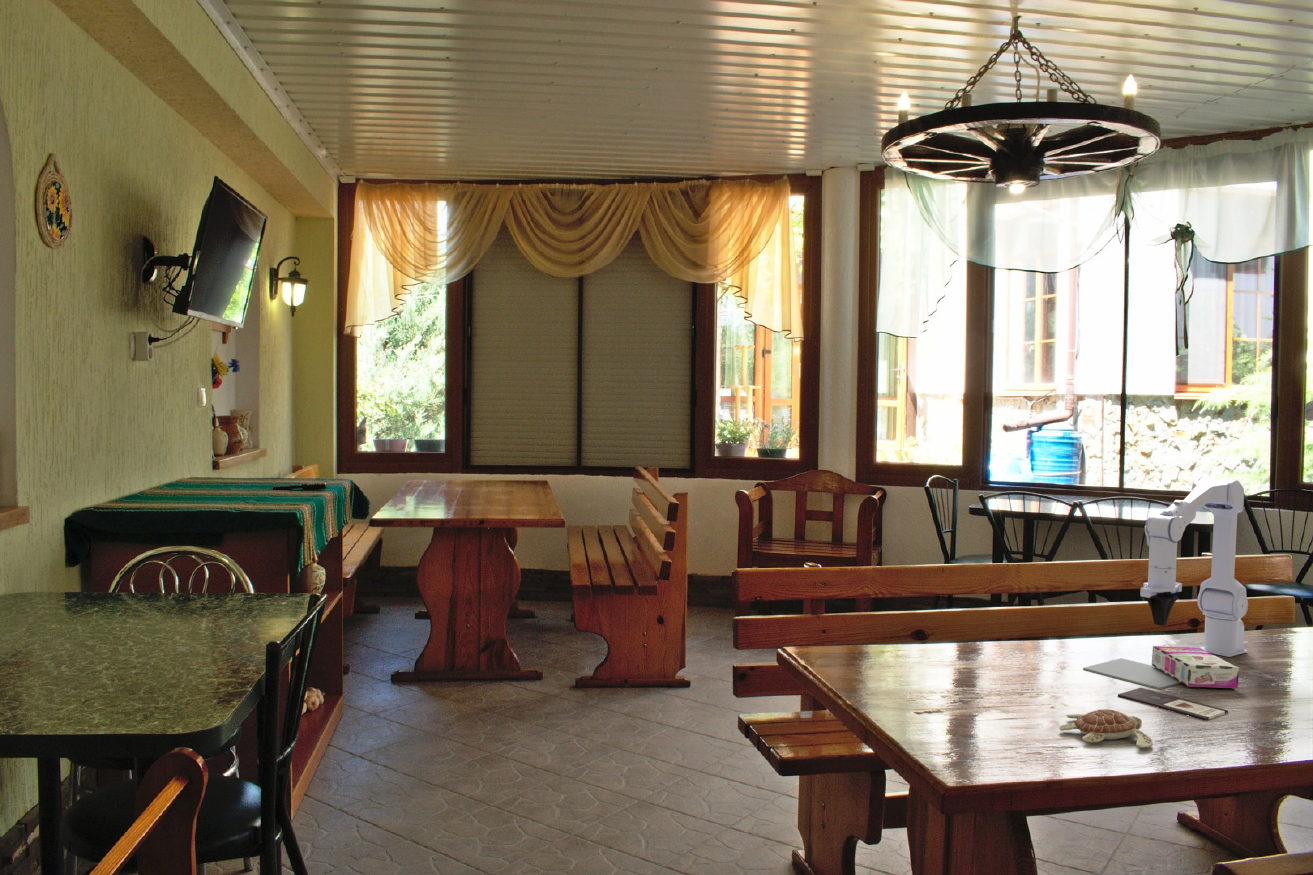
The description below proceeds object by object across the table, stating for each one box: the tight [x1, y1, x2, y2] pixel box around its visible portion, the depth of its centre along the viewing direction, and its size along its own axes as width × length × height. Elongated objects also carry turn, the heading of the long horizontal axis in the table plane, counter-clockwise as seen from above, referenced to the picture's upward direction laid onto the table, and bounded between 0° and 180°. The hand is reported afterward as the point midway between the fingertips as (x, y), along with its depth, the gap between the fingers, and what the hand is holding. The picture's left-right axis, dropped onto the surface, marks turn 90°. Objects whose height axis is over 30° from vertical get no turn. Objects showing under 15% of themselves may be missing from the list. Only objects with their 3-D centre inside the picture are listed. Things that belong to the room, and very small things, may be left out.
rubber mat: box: [1082, 657, 1182, 690], centre depth 223 cm, size 16×18×1 cm
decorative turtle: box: [1058, 708, 1154, 749], centre depth 182 cm, size 18×17×5 cm
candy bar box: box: [1151, 645, 1240, 689], centre depth 220 cm, size 11×5×16 cm
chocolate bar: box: [1117, 687, 1229, 721], centre depth 201 cm, size 9×1×18 cm
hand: (1160, 624), depth 227 cm, fingers closed
